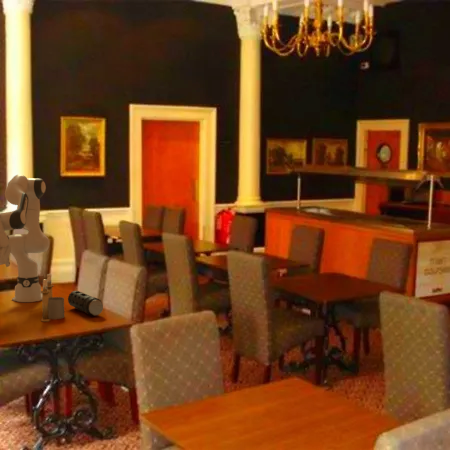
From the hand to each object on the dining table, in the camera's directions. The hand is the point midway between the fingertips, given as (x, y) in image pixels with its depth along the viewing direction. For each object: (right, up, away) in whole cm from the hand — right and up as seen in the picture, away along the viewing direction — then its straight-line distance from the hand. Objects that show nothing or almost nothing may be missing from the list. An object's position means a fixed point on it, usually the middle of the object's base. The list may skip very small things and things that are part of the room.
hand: (8, 265), depth 375 cm
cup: (+27, -27, -5) cm, 39 cm away
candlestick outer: (+23, -28, -13) cm, 39 cm away
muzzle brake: (+40, -26, +6) cm, 49 cm away
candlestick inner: (+22, -26, +2) cm, 34 cm away
